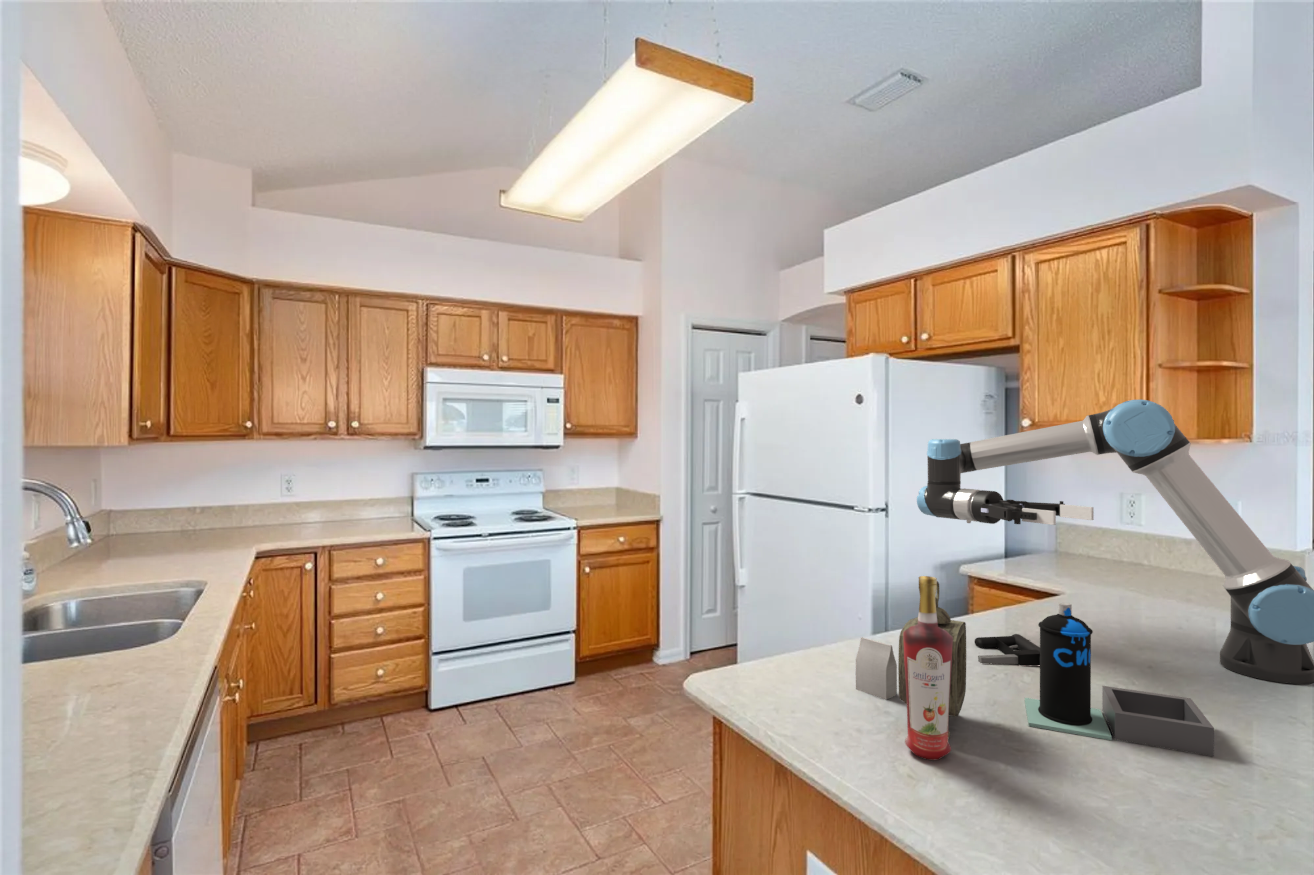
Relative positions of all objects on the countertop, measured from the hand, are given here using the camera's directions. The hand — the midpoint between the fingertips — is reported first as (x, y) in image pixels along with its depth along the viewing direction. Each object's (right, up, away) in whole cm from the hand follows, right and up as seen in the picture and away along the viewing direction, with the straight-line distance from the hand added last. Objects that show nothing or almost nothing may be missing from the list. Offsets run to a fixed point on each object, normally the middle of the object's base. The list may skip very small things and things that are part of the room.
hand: (1074, 515), depth 134 cm
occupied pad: (-13, -34, -18) cm, 41 cm away
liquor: (-43, -34, -30) cm, 62 cm away
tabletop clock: (-37, -34, -19) cm, 54 cm away
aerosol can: (-13, -34, -18) cm, 40 cm away
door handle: (-6, -34, +14) cm, 37 cm away
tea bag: (-42, -34, -5) cm, 55 cm away
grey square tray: (-1, -34, -23) cm, 41 cm away
